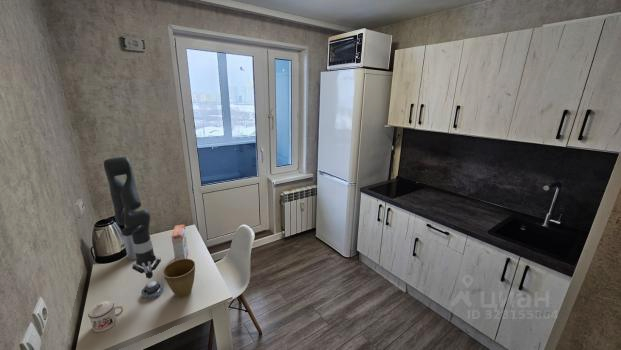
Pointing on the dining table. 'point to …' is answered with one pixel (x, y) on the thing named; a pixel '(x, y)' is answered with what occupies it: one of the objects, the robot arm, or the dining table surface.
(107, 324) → the teacup with lid
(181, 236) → the cracker box
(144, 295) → the faceted grey ring
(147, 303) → the dining table surface
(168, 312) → the dining table surface
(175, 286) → the plant pot
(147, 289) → the cap
